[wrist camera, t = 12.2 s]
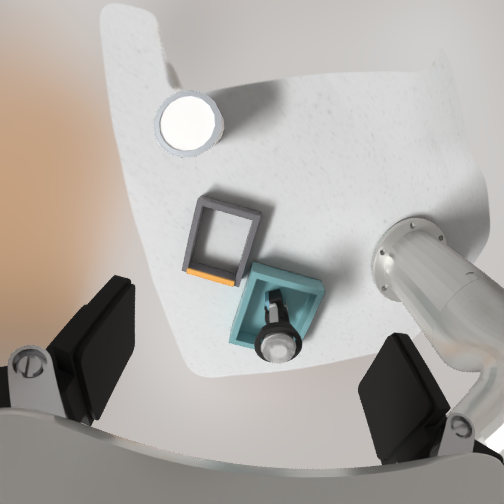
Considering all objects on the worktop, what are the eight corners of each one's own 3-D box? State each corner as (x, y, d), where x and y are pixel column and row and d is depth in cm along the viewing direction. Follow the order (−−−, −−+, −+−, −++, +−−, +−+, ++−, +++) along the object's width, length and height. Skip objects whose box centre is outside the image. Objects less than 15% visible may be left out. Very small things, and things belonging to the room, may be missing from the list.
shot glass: (167, 109, 31) (146, 103, 25) (222, 92, 30) (212, 80, 24) (181, 161, 33) (162, 166, 27) (236, 146, 33) (229, 146, 26)
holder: (260, 212, 35) (260, 217, 33) (239, 279, 39) (238, 288, 37) (201, 195, 35) (197, 199, 33) (185, 264, 38) (181, 271, 36)
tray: (321, 280, 39) (325, 291, 36) (291, 344, 43) (293, 357, 40) (253, 261, 38) (252, 271, 35) (230, 330, 42) (228, 342, 39)
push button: (301, 321, 40) (310, 369, 31) (266, 331, 41) (266, 380, 32) (289, 282, 38) (296, 327, 29) (251, 293, 39) (247, 339, 30)
